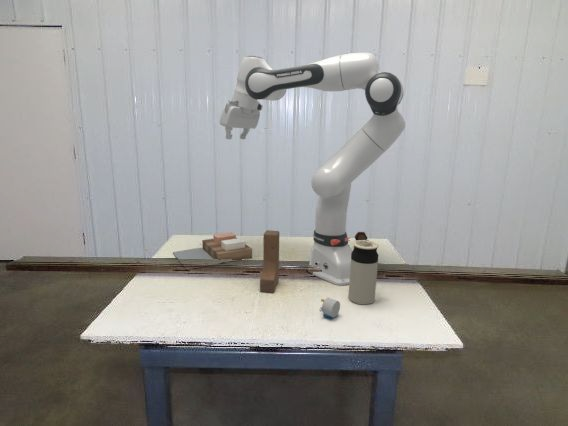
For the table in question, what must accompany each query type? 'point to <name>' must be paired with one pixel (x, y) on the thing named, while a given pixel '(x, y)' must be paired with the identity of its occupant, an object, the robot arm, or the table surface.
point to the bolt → (361, 236)
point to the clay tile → (223, 237)
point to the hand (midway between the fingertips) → (235, 138)
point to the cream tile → (232, 244)
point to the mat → (192, 254)
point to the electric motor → (330, 307)
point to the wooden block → (270, 261)
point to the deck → (220, 253)
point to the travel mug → (363, 272)
